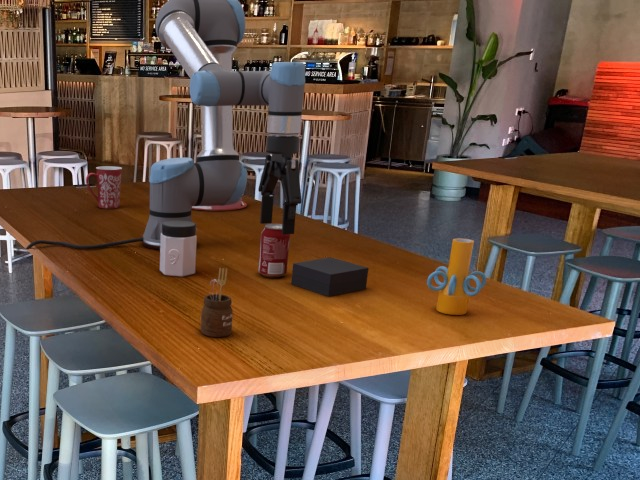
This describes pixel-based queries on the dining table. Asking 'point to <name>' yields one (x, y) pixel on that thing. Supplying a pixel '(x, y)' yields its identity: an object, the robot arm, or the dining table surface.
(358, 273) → the pad top
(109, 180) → the mug
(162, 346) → the dining table surface
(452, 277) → the cylinder
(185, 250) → the jar
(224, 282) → the utensil holder
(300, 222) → the dining table surface
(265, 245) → the soda can
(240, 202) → the cake
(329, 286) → the pad bottom
